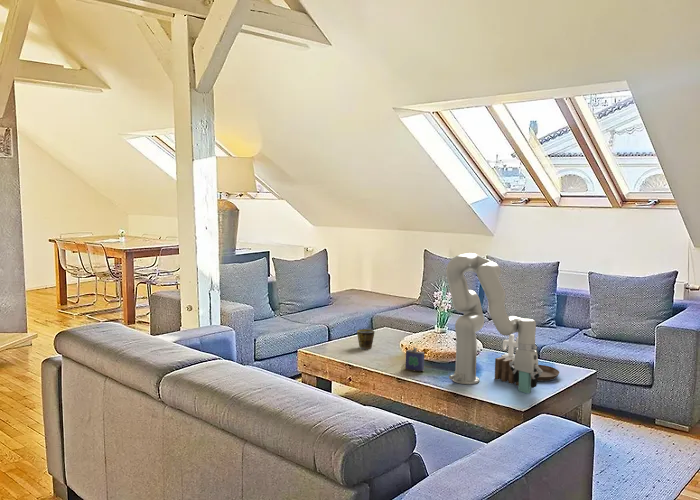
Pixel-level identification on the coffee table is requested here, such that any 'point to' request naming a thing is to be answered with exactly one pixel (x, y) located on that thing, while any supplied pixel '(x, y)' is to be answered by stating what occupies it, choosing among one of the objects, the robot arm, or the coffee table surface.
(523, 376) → the tile
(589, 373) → the coffee table surface
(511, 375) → the domino
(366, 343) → the ceramic cup
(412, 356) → the flask
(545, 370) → the plant saucer
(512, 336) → the figurine
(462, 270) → the robot arm
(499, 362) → the domino
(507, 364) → the domino
